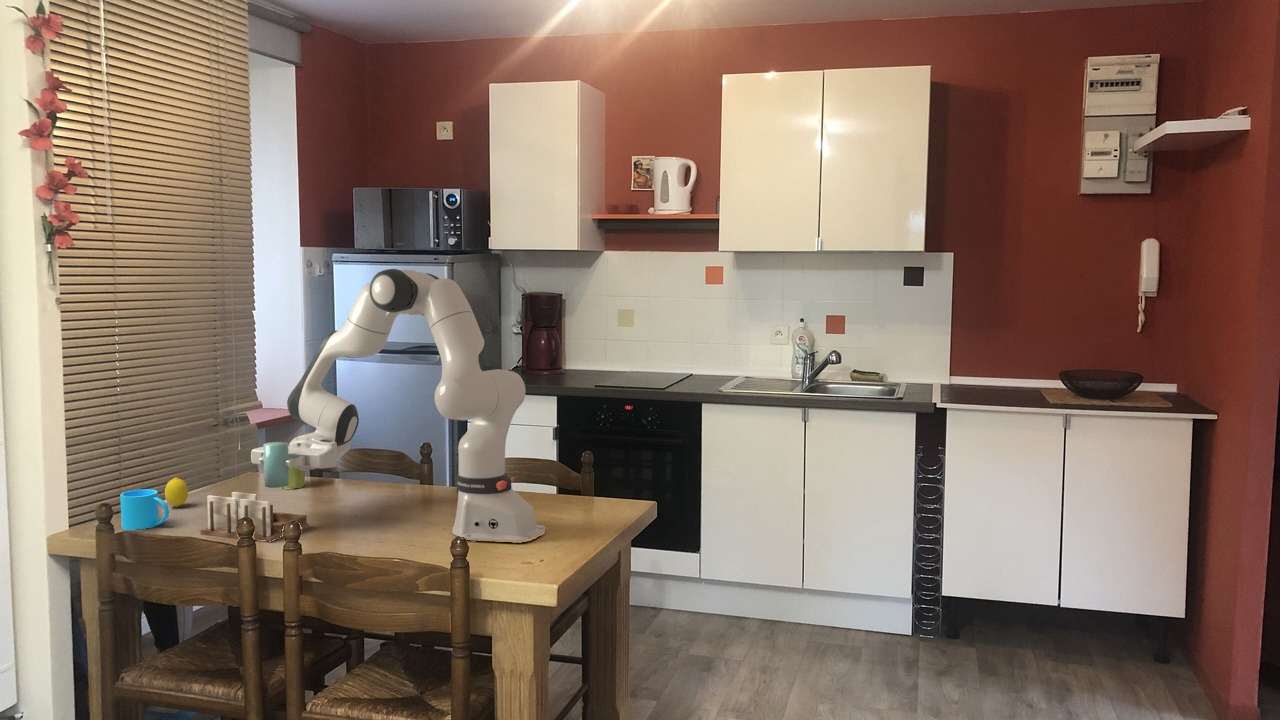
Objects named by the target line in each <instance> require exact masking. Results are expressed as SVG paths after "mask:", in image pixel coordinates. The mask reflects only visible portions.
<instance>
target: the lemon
mask: <svg viewBox="0 0 1280 720" xmlns="http://www.w3.org/2000/svg"><path fill="white" fill-rule="evenodd" d="M188 495H189V489H188V484H187V483H186V482H185V481H184V480H183V479H181V478H178V477H176V476H175V477H174V478H172V479H170V480H169V481H168V482H167V484H166V485H165V488H164V497H165V500H166V502H167V503H168V504H170V505H172V506H173V507H175V508H179V507H180V506H181V505H183V504H184V503H185V502H187V499H188Z"/></svg>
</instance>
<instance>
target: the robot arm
mask: <svg viewBox="0 0 1280 720" xmlns="http://www.w3.org/2000/svg"><path fill="white" fill-rule="evenodd" d="M350 308H351V309H350V311H349V313H348V316H347V318H346V321H345V323H344V324H343V325H342V326H341V327H340V328H339V329H338V330H332V331H330V333H329V334H328V335H327V336H326V337H325V338H324V340H323V341H322V343H321V344H320V345H319V347H318V349H317V350H316V352H315V354H314V356H313V357H312V360H311V361H310V363H309V364H308V366H307V368H306V370H305V371H304V372H303V373H304V374H303V375H302V377H301V379H300V380H299V381H298V383H296V386H294V388H293V390H291V392H290V394H289V395H288V397H287V401H286V406H287V410H288V412H289V416H290V417H291V418H292V419H294V420H297V421H300V422H302V423H306V424H307V425H309V426H311V427H314V428H315V429H316V430H315V431H313V432H308V433H306V434H303V435H302V434H301V435H299V436H296V437H294V438H293V439H292V440H291V441H290V442H289V443H288V450H289V459H287V460H285V467H290V468H291V467H295V468H297V469H299V470H302V471H310V470H316V469H330V468H331V469H333V468H336V467H337V466H338V460H339V459H340V458H341V457H343V456H345V454H346V453H347V452H348V451H349V450H350V448H351V446H352V440H353V437H354V435H355V434H356V432H357V429H358V426H359V422H360V421H359V420H360V419H359V413H358V409H357V407H356V405H355V404H353V403H351V402H349V401H348V400H346V399H344V398H341V397H339V396H337V395H335V394H333V393H331V392H329V391H327V390H325V389H324V388H323V387H322V383H323V381H324V379H325V377H327V376H326V375H327V374H328V373H329V370H330V368H331V367H332V365H333V364H334V362H335V361H336V360H337V359H339V358H341V357H343V358H352V359H353V358H357V359H359V358H361V359H362V358H368V357H372V356H375V355H377V354H378V353H380V352H381V351H382V350H383V349H384V347H385V345H386V343H387V341H388V339H389V335H390V334H391V330H392V328H393V325H394V322H395V321H396V318H397V317H398V315H407V316H424V317H425V319H426V321H427V324H428V326H429V329H430V333H431V335H432V338H433V340H434V342H435V345H436V347H437V350H438V354H439V357H440V362H441V377H440V381H439V383H438V385H437V386H436V388H435V391H434V404H435V406H436V409H437V411H438V412H439V414H440V415H441V416H442V417H443V418H445V419H447V420H453V421H469V420H471V423H470V425H469V427H468V429H467V431H466V432H465V434H463V436H462V437H461V438H460V440H459V441H458V446H457V447H458V449H457V451H458V453H457V454H458V473H457V474H456V494H457V503H456V504H457V505H456V506H457V507H456V513H455V519H454V524H453V526H452V530H451V532H452V534H453V535H455V536H456V537H458V536H460V537H465V538H466V539H468V540H475V539H479V540H480V539H482V540H483V539H485V540H504V541H505V540H509V541H510V540H511V541H522V540H526V539H531V538H533V537H536V536H538V535H540V534H541V533H543V532H544V531H545V530H546V526H545V525H541V524H538V523H537V516H536V512H535V509H534V506H533V505H532V504H531V503H529V502H528V501H527V500H525V499H524V498H523V497H522V496H520V495H519V494H518V493H517V492H516V491H515V490H514V489H513V488H512V483H513V482H515V480H514V479H515V478H516V477H515V476H512V477H509V475H508V474H507V473H506V441H507V437H508V433H509V428H510V427H511V426H510V425H511V423H512V421H513V418H514V416H515V414H516V412H517V410H518V409H519V408H520V406H522V404H523V403H524V401H525V397H526V385H525V382H524V380H523V378H522V377H521V375H520V374H519V373H517V372H515V371H512V370H507V369H502V368H501V369H500V368H499V369H498V368H496V369H487V370H482V369H481V366H480V362H479V355H480V353H481V352H482V351H483V349H484V347H485V338H484V337H483V334H482V332H481V328H480V327H479V324H478V321H477V319H476V317H475V314H474V311H473V310H472V307H471V305H470V303H469V300H468V299H467V298H466V294H464V292H463V291H462V289H461V287H460V286H459V284H458V283H457V282H456V281H455V280H453V279H450V278H439V276H437V275H436V276H435V275H434V274H431V273H424V272H421V271H416V270H413V269H398V268H387V269H384V270H381V271H379V272H377V273H376V274H375V275H374V276H373V278H372V280H371V281H370V282H369V283H367V284H365V285H364V286H363V287H362V288H361V290H360V291H359V293H358V295H357V296H356V298H355V300H354V301H353V304H352V306H351V307H350ZM250 460H251V463H252V464H254V465H258V466H261V467H264V447H263V446H261V447H256V448H253V449H251V451H250ZM526 537H528V538H526Z"/></svg>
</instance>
